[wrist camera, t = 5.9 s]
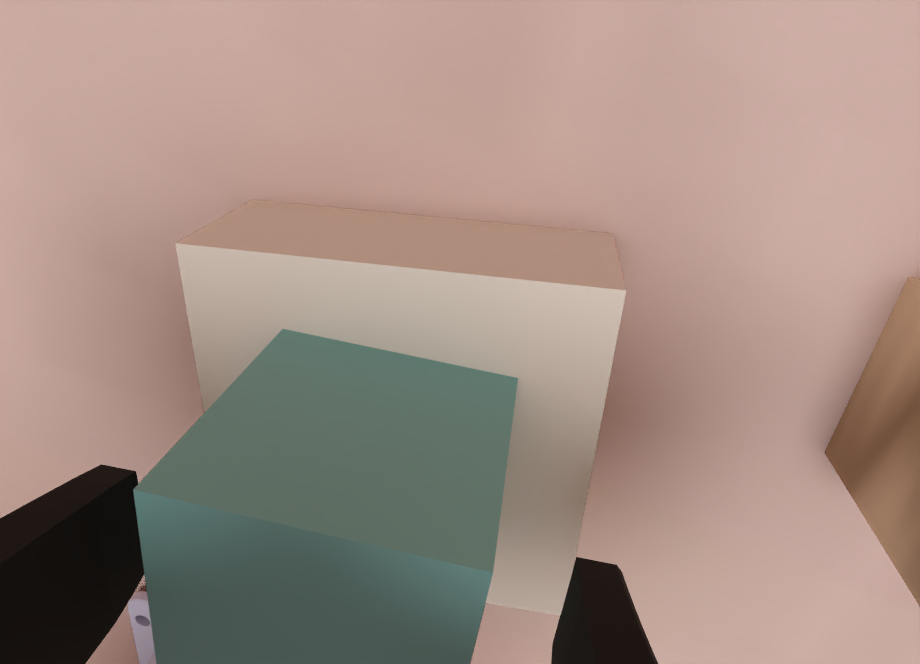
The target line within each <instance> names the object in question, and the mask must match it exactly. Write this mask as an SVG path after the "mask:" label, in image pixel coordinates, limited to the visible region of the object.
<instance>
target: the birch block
mask: <svg viewBox="0 0 920 664" xmlns="http://www.w3.org/2000/svg"><path fill="white" fill-rule="evenodd" d="M825 454H826V456H827V457H828V459H829V461H830V462H831V464H832V465H833V467H834V469H835V470H836V472H837V474H838V475H839V477H840V478H841V480H842V482H843V483H844V485H845V486H846V488H847V490H848V491H849V493H850V495H851V496H852V498H853V499H854V501H855V503H856V504H857V506H858V507H859V509H860V511H861V512H862V514H863V516H864V517H865V519H866V520H867V522H868V524H869V525H870V527H871V528H872V530H873V532H874V533H875V535H876V536H877V538H878V540H879V541H880V543H881V545H882V546H883V548H884V549H885V551H886V553H887V554H888V556H889V557H890V559H891V561H892V562H893V564H894V566H895V567H896V569H897V570H898V572H899V574H900V575H901V577H902V578H903V580H904V582H905V583H906V585H907V587H908V588H909V590H910V591H911V593H912V595H913V596H914V598H915V599H916V601H917V603H918V604H919V606H920V279H917V278H911V277H908V279H907V281H906V283H905V286H904V288H903V290H902V292H901V294H900V296H899V298H898V300H897V302H896V304H895V306H894V309H893V311H892V313H891V315H890V317H889V319H888V321H887V323H886V325H885V327H884V329H883V332H882V334H881V336H880V338H879V340H878V342H877V344H876V346H875V348H874V350H873V352H872V354H871V357H870V359H869V361H868V363H867V365H866V367H865V369H864V371H863V373H862V375H861V377H860V380H859V382H858V384H857V386H856V388H855V390H854V392H853V394H852V396H851V398H850V400H849V403H848V405H847V407H846V409H845V411H844V413H843V415H842V417H841V419H840V421H839V423H838V426H837V428H836V430H835V432H834V434H833V436H832V438H831V440H830V442H829V444H828V446H827V449H826V451H825Z"/></svg>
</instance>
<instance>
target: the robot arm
mask: <svg viewBox="0 0 920 664" xmlns="http://www.w3.org/2000/svg"><path fill="white" fill-rule="evenodd" d="M137 485H138V480H137V474H136V471H131V470H126V469H121V468H116V467H111V466H106V465H100V466H98V467H96V468H94V469H92V470H90V471H88V472H86V473H84V474H82V475H80V476H78V477H76V478H74V479H72V480H70V481H68V482H66V483H65V484H63V485H61V486H59V487H57V488H55V489H53V490H52V491H50V492H48V493H46V494H44V495H42V496H41V497H39V498H37V499H35V500H33V501H31V502H30V503H28V504H26V505H24V506H22V507H20V508H19V509H17V510H15V511H13V512H11V513H9V514H8V515H6V516H4V517H2V518H0V664H85V663H86V662H87V660H88V659H89V658H90V656H91V655H92V654H93V652H94V651H95V650H96V648H97V647H98V646H99V644H100V643H101V642H102V640H103V639H104V638H105V636H106V635H107V633H108V632H109V631H110V629H111V628H112V627H113V625H114V624H115V622H116V621H117V619H118V618H119V616H120V614H121V613H122V611H123V609H124V608H125V606H126V605H127V603H128V606H127V607H128V611H129V616H130V621H131V626H132V630H133V635H134V640H135V645H136V649H137V654H138V659H139V664H156V658H155V650H154V642H153V635H152V627H151V620H150V612H149V605H148V597H147V591H139V592H136V593H135V594H134V595H133V593H134V591H135V589H136V588H137V586H138V584H139V582H140V580H141V579H142V577H143V575H144V567H143V560H142V552H141V545H140V537H139V530H138V522H137V515H136V507H135V500H134V492H133V489H134V488H135V487H136V486H137ZM132 595H133V596H132ZM131 596H132V598H131ZM130 598H131V599H130ZM128 601H129V602H128ZM551 664H658V662H657V660H656V658H655V656H654V653H653V651H652V648H651V646H650V644H649V641H648V639H647V637H646V634H645V632H644V629H643V627H642V625H641V622H640V620H639V617H638V615H637V612H636V609H635V607H634V604H633V602H632V599H631V596H630V594H629V591H628V588H627V585H626V583H625V580H624V577H623V574H622V572H621V570H620V569H619V568H618V566H617V565H614V564H609V563H604V562H599V561H594V560H588V559H583V558H578V557H576V561H575V565H574V568H573V572H572V575H571V579H570V583H569V586H568V590H567V594H566V597H565V601H564V604H563V608H562V612H561V615H560V619H559V623H558V626H557V630H556V633H555V637H554V641H553V646H552V662H551Z"/></svg>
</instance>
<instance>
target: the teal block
mask: <svg viewBox="0 0 920 664" xmlns="http://www.w3.org/2000/svg"><path fill="white" fill-rule="evenodd" d="M517 383H518V378H515V377H511V376H506V375H501V374H496V373H492V372H487V371H482V370H477V369H472V368H468V367H463V366H458V365H453V364H449V363H444V362H439V361H434V360H429V359H425V358H420V357H415V356H410V355H406V354H401V353H396V352H391V351H386V350H382V349H377V348H372V347H367V346H363V345H358V344H353V343H348V342H343V341H339V340H334V339H329V338H324V337H320V336H315V335H310V334H305V333H300V332H296V331H291V330H286V329H282V330H281V331H280V332H279V333H278V334H277V335H276V337H275V338H274V339H273V340H272V341H271V342H270V343H269V344H268V345H267V346H266V347H265V348H264V349H263V351H262V352H261V353H260V354H259V355H258V356H257V357H256V358H255V359H254V360H253V361H252V362H251V363H250V365H249V366H248V367H247V368H246V369H245V370H244V371H243V372H242V373H241V374H240V375H239V376H238V377H237V379H236V380H235V381H234V382H233V383H232V384H231V385H230V386H229V387H228V388H227V389H226V390H225V391H224V392H223V394H222V395H221V396H220V397H219V398H218V399H217V400H216V401H215V402H214V403H213V404H212V405H211V406H210V408H209V409H208V410H207V411H206V412H205V413H204V414H203V415H202V416H201V417H200V418H199V419H198V420H197V422H196V423H195V424H194V425H193V426H192V427H191V428H190V429H189V430H188V431H187V432H186V433H185V434H184V436H183V437H182V438H181V439H180V440H179V441H178V442H177V443H176V444H175V445H174V446H173V447H172V448H171V450H170V451H169V452H168V453H167V454H166V455H165V456H164V457H163V458H162V459H161V460H160V461H159V462H158V464H157V465H156V466H155V467H154V468H153V469H152V470H151V471H150V472H149V473H148V474H147V475H146V476H145V478H144V479H143V480H142V481H141V482H140V483H139V484H138V485H137V486H136V487H135V488H134V489H133V492H134V500H135V507H136V515H137V522H138V530H139V537H140V545H141V552H142V560H143V567H144V575H145V582H146V590H147V597H148V605H149V612H150V620H151V627H152V635H153V642H154V650H155V658H156V664H470V662H471V658H472V654H473V651H474V647H475V643H476V639H477V635H478V631H479V627H480V623H481V619H482V615H483V611H484V607H485V603H486V599H487V595H488V591H489V587H490V583H491V579H492V575H493V569H494V562H495V554H496V546H497V538H498V531H499V523H500V515H501V507H502V500H503V492H504V484H505V476H506V468H507V461H508V453H509V445H510V437H511V430H512V422H513V414H514V406H515V399H516V391H517Z"/></svg>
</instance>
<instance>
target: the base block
mask: <svg viewBox="0 0 920 664" xmlns="http://www.w3.org/2000/svg"><path fill="white" fill-rule="evenodd" d="M175 245H176V251H177V257H178V263H179V269H180V275H181V281H182V287H183V293H184V299H185V305H186V311H187V316H188V322H189V328H190V334H191V340H192V346H193V352H194V358H195V364H196V370H197V376H198V381H199V387H200V393H201V399H202V405H203V411H204V413H205V412H206V411H207V410H208V409H209V408H210V406H211V405H212V404H213V403H214V402H215V401H216V400H217V399H218V398H219V397H220V396H221V395H222V394H223V392H224V391H225V390H226V389H227V388H228V387H229V386H230V385H231V384H232V383H233V382H234V381H235V380H236V379H237V377H238V376H239V375H240V374H241V373H242V372H243V371H244V370H245V369H246V368H247V367H248V366H249V365H250V363H251V362H252V361H253V360H254V359H255V358H256V357H257V356H258V355H259V354H260V353H261V352H262V351H263V349H264V348H265V347H266V346H267V345H268V344H269V343H270V342H271V341H272V340H273V339H274V338H275V337H276V335H277V334H278V333H279V332H280V331H281V330H282V329H286V330H291V331H296V332H300V333H305V334H310V335H315V336H320V337H324V338H329V339H334V340H339V341H343V342H348V343H353V344H358V345H363V346H367V347H372V348H377V349H382V350H386V351H391V352H396V353H401V354H406V355H410V356H415V357H420V358H425V359H429V360H434V361H439V362H444V363H449V364H453V365H458V366H463V367H468V368H472V369H477V370H482V371H487V372H492V373H496V374H501V375H506V376H511V377H515V378H518V383H517V391H516V399H515V406H514V414H513V422H512V430H511V437H510V445H509V453H508V461H507V468H506V476H505V484H504V492H503V500H502V507H501V515H500V523H499V531H498V538H497V546H496V554H495V562H494V569H493V575H492V579H491V583H490V587H489V591H488V595H487V599H486V603H485V604H491V605H497V606H503V607H509V608H515V609H521V610H527V611H533V612H540V613H546V614H552V615H558V616H560V615H561V612H562V608H563V604H564V601H565V597H566V594H567V590H568V586H569V583H570V579H571V575H572V572H573V567H574V562H575V556H576V551H577V546H578V541H579V535H580V530H581V525H582V520H583V515H584V509H585V504H586V499H587V494H588V488H589V483H590V478H591V473H592V468H593V462H594V457H595V452H596V447H597V441H598V436H599V431H600V426H601V421H602V415H603V410H604V405H605V400H606V394H607V389H608V384H609V379H610V373H611V368H612V363H613V358H614V353H615V347H616V342H617V337H618V332H619V326H620V321H621V316H622V311H623V306H624V300H625V295H626V287H625V283H624V278H623V274H622V270H621V266H620V261H619V257H618V253H617V249H616V245H615V240H614V236H613V234H612V233H602V232H591V231H580V230H570V229H559V228H549V227H538V226H527V225H517V224H506V223H495V222H485V221H474V220H463V219H453V218H442V217H432V216H421V215H410V214H400V213H389V212H378V211H368V210H357V209H347V208H336V207H325V206H315V205H304V204H293V203H283V202H272V201H261V200H252V201H250V202H248V203H246V204H244V205H243V206H241V207H239V208H237V209H236V210H234V211H232V212H230V213H228V214H227V215H225V216H223V217H221V218H219V219H218V220H216V221H214V222H212V223H210V224H209V225H207V226H205V227H203V228H202V229H200V230H198V231H196V232H194V233H193V234H191V235H189V236H187V237H185V238H184V239H182V240H180V241H178V242H176V243H175Z"/></svg>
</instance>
